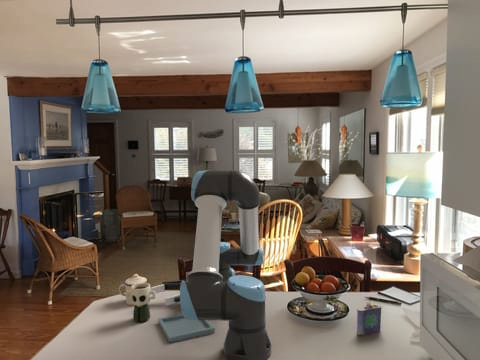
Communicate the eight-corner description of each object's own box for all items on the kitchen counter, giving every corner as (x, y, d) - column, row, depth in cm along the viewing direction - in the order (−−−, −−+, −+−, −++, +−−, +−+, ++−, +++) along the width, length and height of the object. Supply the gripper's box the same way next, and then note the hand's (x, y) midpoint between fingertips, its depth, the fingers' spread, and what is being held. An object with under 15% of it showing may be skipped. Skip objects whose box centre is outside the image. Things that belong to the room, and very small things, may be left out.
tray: (214, 332, 136) (214, 327, 136) (169, 343, 129) (169, 337, 129) (199, 314, 151) (199, 310, 150) (158, 323, 144) (158, 318, 144)
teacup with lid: (150, 297, 169) (149, 271, 168) (143, 306, 160) (142, 278, 159) (123, 297, 170) (122, 270, 169) (115, 305, 161) (114, 278, 160)
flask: (359, 336, 132) (360, 305, 131) (354, 332, 135) (354, 302, 134) (382, 332, 135) (383, 302, 134) (376, 328, 138) (377, 299, 137)
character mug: (124, 323, 144) (122, 289, 143) (130, 315, 151) (129, 282, 150) (153, 324, 143) (151, 289, 142) (158, 315, 151) (157, 282, 149)
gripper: (220, 301, 156) (173, 316, 142) (187, 284, 175) (143, 296, 162) (220, 282, 155) (173, 296, 142) (187, 268, 174) (143, 278, 161)
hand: (157, 296), depth 152 cm, fingers open, 13 cm apart
